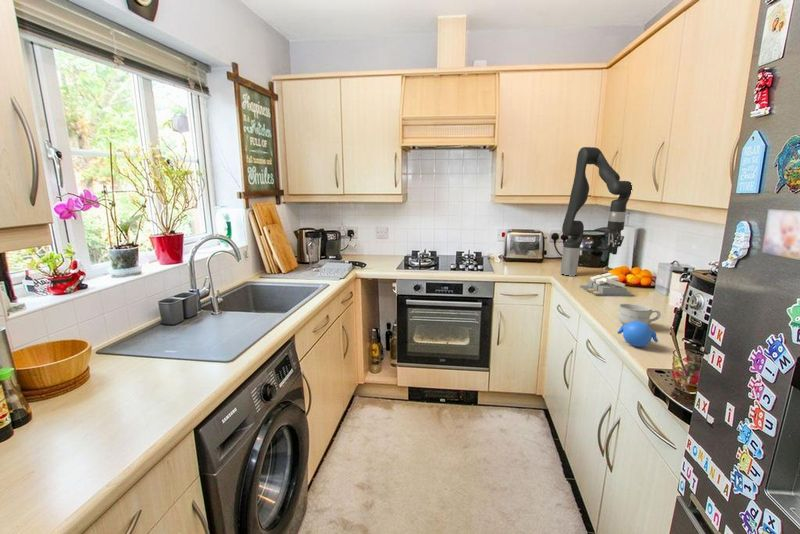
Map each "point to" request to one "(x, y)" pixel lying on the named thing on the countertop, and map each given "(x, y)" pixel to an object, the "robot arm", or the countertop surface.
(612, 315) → the countertop surface
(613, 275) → the rocker
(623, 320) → the teacup
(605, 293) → the switch unit
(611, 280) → the rocker
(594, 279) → the rocker
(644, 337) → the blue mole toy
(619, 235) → the robot arm
